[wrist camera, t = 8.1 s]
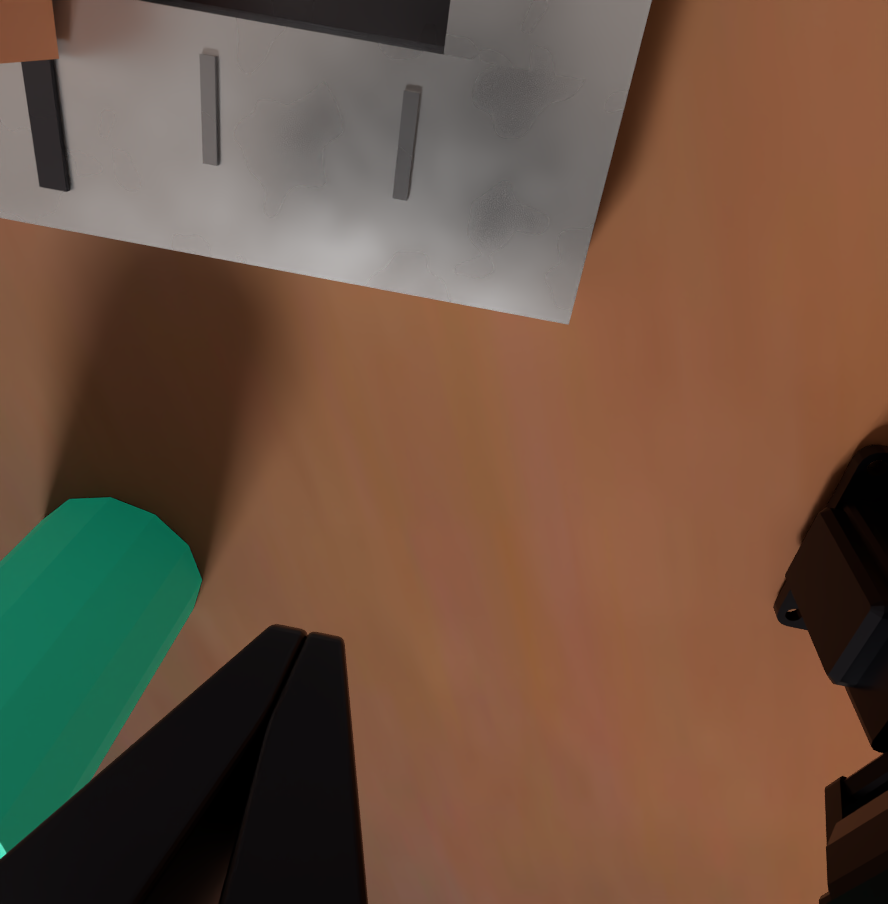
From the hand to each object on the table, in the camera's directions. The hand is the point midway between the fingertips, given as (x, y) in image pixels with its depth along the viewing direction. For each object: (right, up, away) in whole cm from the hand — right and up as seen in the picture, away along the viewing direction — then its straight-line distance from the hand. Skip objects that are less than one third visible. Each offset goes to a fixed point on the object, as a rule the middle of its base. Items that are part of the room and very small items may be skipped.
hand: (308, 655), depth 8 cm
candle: (-10, -2, +17) cm, 20 cm away
